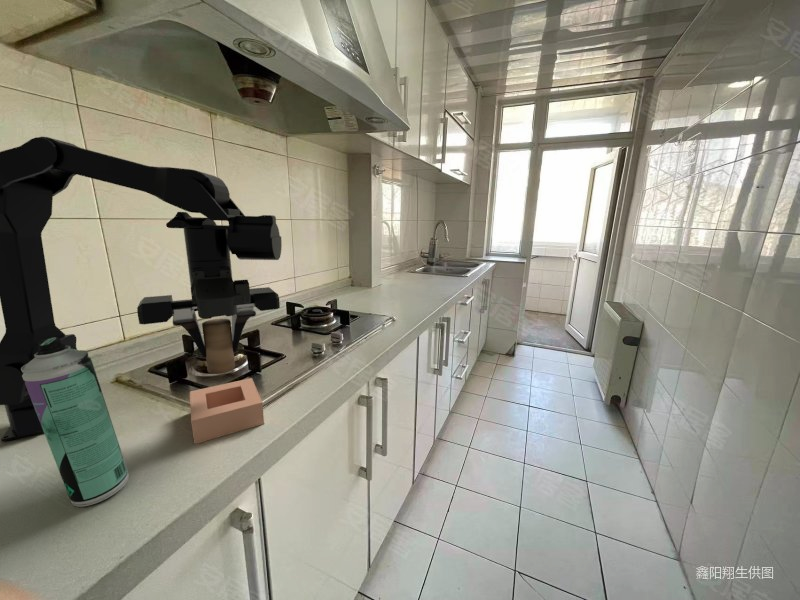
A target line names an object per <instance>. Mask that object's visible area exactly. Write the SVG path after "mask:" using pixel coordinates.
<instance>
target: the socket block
mask: <svg viewBox="0 0 800 600" xmlns="http://www.w3.org/2000/svg"><path fill="white" fill-rule="evenodd" d="M189 401H190V403H189V404H190V421H191V429H192V436H193V442H194V445H197V444H199V443H203V442H205V441H209V440H214V439H216V438H221V437H223V436H226V435H230V434H234V433H237V432H240V431H243V430H246V429H251V428H254V427H258V426H261V425H264V424H265V419H264V418H265V415H264V407H263V406H264V405H263V401H262V398H261V396H260V394H259V392H258V388H257V386H256V385H255V382H254V379H253V378H252V377H249V378H246V379H241V380H237V381H232V382H227V383H221V384H218V385H217V384H216V385H214V386H208V387H204V388H200V389H195V390H191V391H189ZM214 407H215V408H214Z"/></svg>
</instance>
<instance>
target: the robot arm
mask: <svg viewBox="0 0 800 600" xmlns="http://www.w3.org/2000/svg"><path fill="white" fill-rule="evenodd" d="M77 175H78V176H81V177H85V178H89V179H93V180H97V181H101V182H105V183H108V184H113V185H116V186H117V185H118V186H120V187H125V188H129V189H133V190H136V191H141V192H144V193H148V194H149V195H152V196H154V197H156V198H158V199H159V200H161V201H162V202H164V203H166V204H169V205H172V206H174V207H176V208H178V209H180V210H184V211H177V213H176V214H175V215H174V217H173V218H171V219H170V220H169V221H168V222H166V225H165V226H166V227H167V228H168V229H183V235H184V243H185V251H186V258H187V259H186V260H187V267H188V275H189V283H190V293H191V299H190V298H189V299H181V300H179V299H178V300H173V299H174V298H173V295H172V294H168V295H156V296H144V297H143V298H142V299H141V300H140V301H139V303H138V305H137V307H136V309H137V319H138V324H139V325H149V324H151V325H152V324H161V323H167V322H169V320H170V319H171V318H172V326H175V327H179V326H181V327H182V328H183V329H185V331H186V332H187V333H188V334H189V336H190V337H191V339H192V340H193V342H194V344H195V345H196V347H197V349H198V351H199V353H200V355H201V356H202V358H205V359H206V351H205V345H204V337H203V335H202V331H201V328H200V324H199V321H198V317H199V318H200V319H203V320H211V319H212V318H215V317H224V316H225V317H231V331H232V341H233V351H234V353H237V351H238V348H239V344H240V340H241V337H242V333H243V332H244V331H243V330H244V328H245V326H246V324H247V322H248V321H249V319H250V318H252V317H255V316H256V315H257V312H256V311H255V308H256V309H257V310H259V311H260V312H265V311H271V310H272V311H273V310H278V309H280V308H281V306H280V305H281V303H280V297H279V296H280V295H279V294H278V293H277V292H276V291H274V290H273V289H272V288H271V287H269V286H268V287H267V286H265V287H257V288H255V287H254V288H250V283H249V280H248V279H237V280H236V279H235V280H233V272H232V261H231V255H235V256H236V257H237V259H238V260H241V261H242V260H249V261H252V260H253V261H254V260H255V261H278V260H280V258H281V255H282V243H283V241H282V236H281V235H280V230H279V226H278V224H277V218H276V216H275V215H270V214H269V215H268V214H267V215H266V214H262V215H258V216H255V215H251V216H250V215H245V214H244V213H243V212H242V210H241V209H240V208H239V206H238V205H236V203H235V202H234V201H233V199H232V197H230V196H231V195H230V191H229V189H228V186H227V184H225V182H224V181H223V179H221V178H220V177H217V176H215V175H212V174H209V173H206V172H202V171H199V170H196V169H189V168H179V167H169V166H150V165H146V164H144V163H143V164H142V163H138V162H135V161H132V160H128V159H124V158H120V157H116V156H113V155H109V154H105V153H102V152H97V151H93V150H91V149H87V148H83V147H80V146H78V145H75V144H74V143H71V142H67V141H64V140H59V139H56V138H52V137H48V136H39V137H34V138H31V139H29V140H27V141H26V142H24V143H23V144H21V145H19V146H15V147H13V148H8V149H5V150H1V151H0V305H1V309H2V310H1V311H2V316H3V322H4V327H5V333H4V334H3V336H2V338H1V340H0V406H4V409H5V412H6V416H7V419H8V422H9V426H10V427H8V429H7V430H6V432H5V433H3V435H2V436H1V438H0V441H1V443H2V442H3V443H4V442H8V441H13V440H16V439H20V438H26V437H31V436H34V435H40V434H44V431H43V429H42V426H41V423H40V421H39V418H38V416H37V413H36V411H35V408H34V406H33V403H32V400H31V398H30V395H29V393H28V390H27V388H26V385H25V383H24V380H23V377H22V375H23V372H22V371H21V368H22V367H23V366H24V365H26V364H28V363H29V362H30V361H31V360H33V359H34V358H35V356H34V354H36V353H37V351H38V350H39V346H38V342H39V341H41V340H44V339H48V338H53V337H59V338H60V340H61V343H62V344H65V346H70V347H71V349H76V350H78V348H77V336H76V334H74V333H73V334H72V333H71V334H66V333H65V332H63V331H62V330H61V329H60V328H59V327H57V325H56V323H55V316H54V312H53V311H54V310H53V304H52V297H51V290H50V283H49V278H48V277H49V276H48V271H47V270H48V269H47V265H46V264H47V263H46V258H45V252H44V245H43V239H42V233H43V231H44V229H45V227H46V225H47V223H48V222H49V220H50V218H51V217H52V215H53V200H54V199H53V197H55V196H56V195H58V194H59V193H61V192H63V191H64V190H66V189H67V188H68V187H69V185H70V183H71V181H72V180H73V178H74V177H75V176H77ZM188 212H189V213H188ZM190 213H191V214H192V213H194V214H195V213H196V214H201V215H203V216H204V217H196V216H195V217H194V216H191V215H190ZM215 221H220V222H221V221H222V222H223V221H224V222H225V221H226V222H228V225H223V224H217V223H216V222H215ZM230 253H231V254H230ZM196 312H197V314H196ZM197 316H198V317H197Z"/></svg>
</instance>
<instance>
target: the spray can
mask: <svg viewBox="0 0 800 600" xmlns="http://www.w3.org/2000/svg"><path fill="white" fill-rule="evenodd" d="M38 346H39V350H38V351H37V353H36V354H34V356H35V358H34V359H33V360H31V361H30V362H29V363H28V364H26V365H24V366H23V367H22V368H21V371H22V372H23V375H22V377H23V380H24V383H25V385H26V388H27V390H28V393H29V395H30V398H31V400H32V403H33V406H34V408H35V411H36V413H37V416H38V418H39V421H40V423H41V426H42V429H43V431H44V433H43V434H44V436H45V439H46V441H47V444H48V446H49V449H50V451H51V454H52V457H53V460H54V462H55V464H56V467H57V469H58V472H59V475H60V477H61V480H62V482H63V485H64V487H65V490H66V492H67V495H68V497H69V500H70V502H71V504H72V505H73V506H74V507H78V508H79V507H80V508H81V507H82V508H84V507H88V506H92V505H94V504H95V505H96V504H99V503H100V502H103V501H105V500H106V499H108V498H111V497H113V495H115V494H116V493H117V492H119V491H120V490H121V489H123V488H124V486H125V485H126V484H127V482H128V481H129V478H130V475H129V471H128V468H127V464H126V461H125V459H124V456H123V453H122V449H121V446H120V443H119V440H118V437H117V434H116V431H115V428H114V424H113V421H112V419H111V416H110V413H109V409H108V406H107V403H106V399H105V397H104V394H103V391H102V388H101V385H100V382H99V378H98V376H97V372H96V369H95V366H94V364H93V360H92V358H91V356H89V352H88V351H87V350H82V349H80V350H79V349H77V350H76V349H71V347H70V346H65V344H62V343H61V340H60V338H59V337H53V338H48V339H44V340H41V341H39V342H38Z"/></svg>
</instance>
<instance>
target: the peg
mask: <svg viewBox="0 0 800 600" xmlns="http://www.w3.org/2000/svg"><path fill="white" fill-rule="evenodd" d="M201 326H202V334H203V335H202V337H203V342H204V345H205V351H206V357H205V359H206V368H207V373H209V374H212V375H217V374H225V373H228V372H230V371H233V370H234V369H235V368H236V363H235V354H234V353H235V352H234V351H233V341H232V320H231V319H228V318H215V319H207V320H205V321H204V322H202V323H201Z"/></svg>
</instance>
